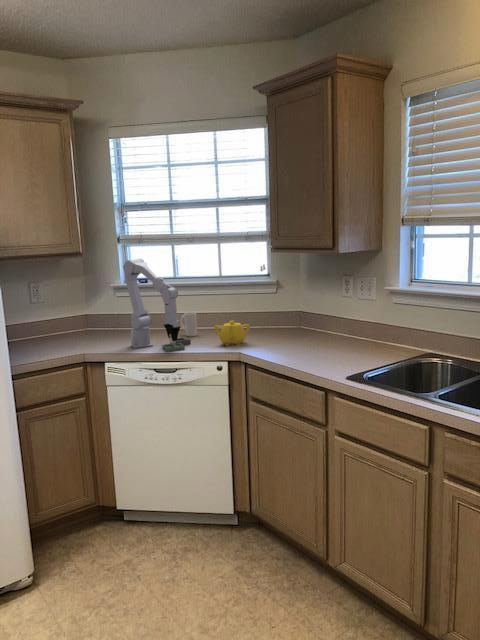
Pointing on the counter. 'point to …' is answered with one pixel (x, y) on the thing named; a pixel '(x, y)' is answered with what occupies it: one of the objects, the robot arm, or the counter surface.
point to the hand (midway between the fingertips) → (172, 339)
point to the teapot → (232, 333)
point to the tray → (178, 347)
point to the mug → (189, 324)
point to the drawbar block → (184, 341)
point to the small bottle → (172, 342)
